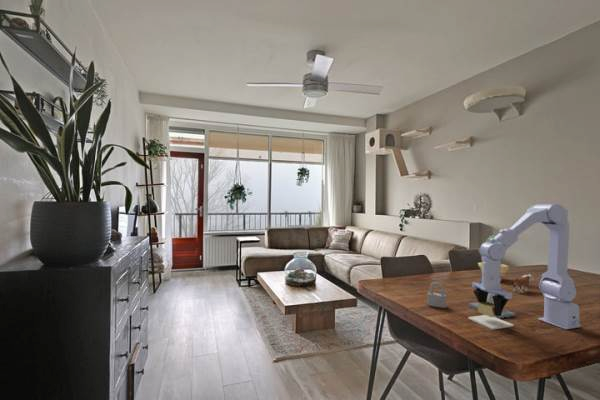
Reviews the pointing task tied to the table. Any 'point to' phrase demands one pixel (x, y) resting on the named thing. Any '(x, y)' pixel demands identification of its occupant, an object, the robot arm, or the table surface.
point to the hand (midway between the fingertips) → (490, 312)
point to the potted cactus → (502, 268)
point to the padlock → (436, 297)
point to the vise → (489, 298)
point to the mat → (490, 322)
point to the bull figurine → (522, 282)
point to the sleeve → (487, 308)
